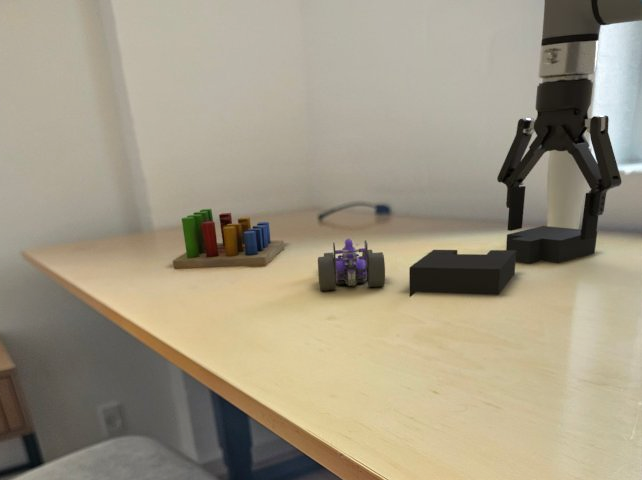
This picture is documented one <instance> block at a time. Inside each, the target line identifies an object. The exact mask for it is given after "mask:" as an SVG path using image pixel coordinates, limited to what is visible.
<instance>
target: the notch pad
mask: <svg viewBox="0 0 642 480" xmlns="http://www.w3.org/2000/svg"><path fill="white" fill-rule="evenodd" d="M515 261H516V250H506V249H504V250H503V249H500V250H499V249H491V250H490V251H488V253H486V254H483V253H482V254H481V253H479V254H477V253H475V254H473V253H458V250H457V249H433V250H431V251H430V252H427V254H426V255H424V256H423V257H421V258H420V259H419V260H418V261H416V262H415V263H414V264H411V266H409V269H408V271H409V272H408V273H409V274H408V275H409V279H408V280H409V297H412V296H414V295H415V294H416V293H427V294H429V293H431V294H432V293H433V294H456V295H457V294H459V295H482V296H486V295H487V296H500V294H501V293H502V291H503V290H504V289H505V288H506V286H507V285H508V284H509V282H510V281H511V279H512V278H513V277H514V276H515V275H516V274H515V273H516V262H515Z"/></svg>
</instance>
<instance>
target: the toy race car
mask: <svg viewBox="0 0 642 480" xmlns="http://www.w3.org/2000/svg"><path fill="white" fill-rule="evenodd" d="M353 243H354V242H353V240H352V239H351V238H346V239H345V241H344V247H342V249H337V250H336V244H335V242H333V243H332V248H333V249H332V250H333V252H324V253H323V256H318V257H317V271H318V284H319V291H320V292H324V291H325V292H327V291H335V290H336V288H337V285H346V286H347V287H355V286H357V285H358V284H363V283H365V282H367V283H366V284H367V287H368V288H378V287H379V288H380V287H385V284H386V262H385V255H384V253H383V252H382V251H381V252H373V249H368V247H369V246H368V242H367V240H364V248H358V249H356V247H355V246H354V244H353ZM359 253H361V255H360V254H359ZM336 255H337V257H336Z"/></svg>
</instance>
